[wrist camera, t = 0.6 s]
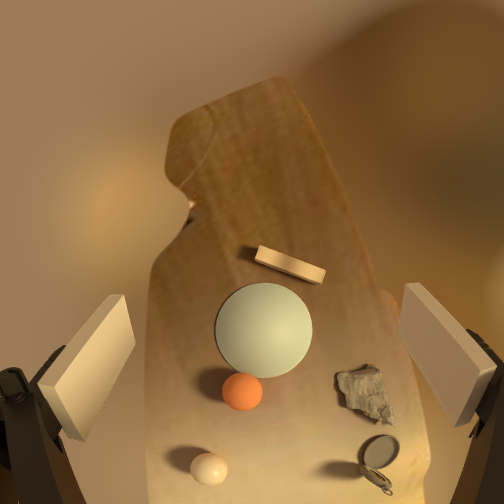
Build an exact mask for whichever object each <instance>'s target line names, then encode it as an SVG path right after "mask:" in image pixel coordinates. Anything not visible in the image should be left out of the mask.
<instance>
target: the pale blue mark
mask: <svg viewBox="0 0 504 504" xmlns="http://www.w3.org/2000/svg"><path fill="white" fill-rule="evenodd" d="M311 338H312V322H311V318H310V314H309V312H308V309H307V308H306V306H305V304H304V303H303V301H302V300H301V299H300V298H299V297H298V296H297V295H296V294H295V293H293V292H292V291H291V290H289V289H287V288H285V287H283V286H280V285H277V284H273V283H256V284H252V285H248V286H246V287H243V288H241V289H240V290H238V291H236V292H235V293H234V294H233V295H231V296H230V297H229V298H228V299H227V301H226V302H225V303H224V305H223V306H222V308H221V310H220V312H219V315H218V318H217V322H216V340H217V344H218V347H219V349H220V352H221V354H222V355H223V357H224V358H225V360H226V361H227V362H228V363H229V364H230V365H231V366H232V367H233V368H235V369H236V370H237V371H239V372H241V373H248V374H251V375H253V376H254V377H256V378H270V377H276V376H279V375H282V374H284V373H286V372H288V371H290V370H291V369H293V368H294V367H295V366H296V365H297V364H298V363H299V362H300V361H301V360H302V359H303V357H304V356H305V354H306V352H307V351H308V348H309V346H310V342H311Z"/></svg>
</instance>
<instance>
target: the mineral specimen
mask: <svg viewBox="0 0 504 504" xmlns="http://www.w3.org/2000/svg"><path fill="white" fill-rule="evenodd" d="M337 380H338V386H339V388H340V390H341V391H342V392H343V393H344V395H345V399H346V406H347V407H348V408H349V409H360V410H361V411H363V413H364V414H365V415H366V416H368V417H370V418H374V419H378V420H380V421H382V425H383V427H386V426H388V425H389V424H390V425H391V426H394V427H395V425H396V424H397V418H396V416H395V414H394V413H393V412H392V408H390V404H389V401H388V398H387V393H386V391H385V389H384V385H383V382H382V377H381V374H380V371H379V369H377V368H375V366H374V365H368V366H367V367H366V369H363V370H359V371H354V372H341V373H338V374H337Z"/></svg>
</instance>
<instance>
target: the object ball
mask: <svg viewBox="0 0 504 504" xmlns="http://www.w3.org/2000/svg"><path fill="white" fill-rule="evenodd" d="M222 395H223V398H224V401H225V402H226V403H227V405H229V406H230V407H231V408H233V409H235V410H239V411H245V410H249V409H252V408H253V407H255V406H256V405H257V404H258V403H259V401H260V399H261V397H262V387H261V384H260V382H259V381H258V379H257V378H256V377H254V376H253V375H251V374H248V373H236V374H233V375H231V376H230V377H229V378H227V380H226V381H225V383H224V385H223V388H222Z"/></svg>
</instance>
